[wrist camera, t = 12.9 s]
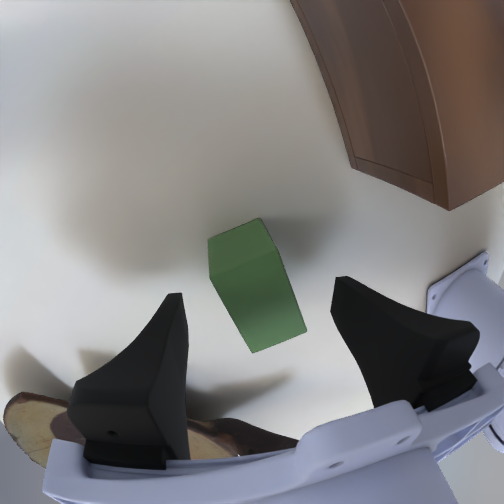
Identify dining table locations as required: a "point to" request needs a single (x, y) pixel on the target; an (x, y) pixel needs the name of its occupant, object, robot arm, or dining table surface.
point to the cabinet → (416, 90)
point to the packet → (254, 286)
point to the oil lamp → (60, 427)
